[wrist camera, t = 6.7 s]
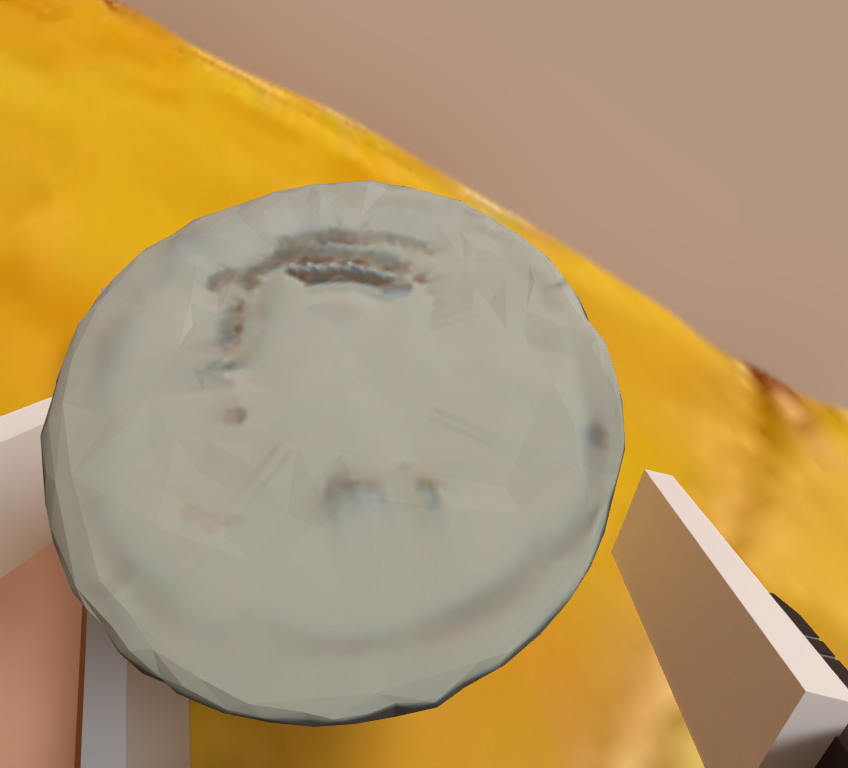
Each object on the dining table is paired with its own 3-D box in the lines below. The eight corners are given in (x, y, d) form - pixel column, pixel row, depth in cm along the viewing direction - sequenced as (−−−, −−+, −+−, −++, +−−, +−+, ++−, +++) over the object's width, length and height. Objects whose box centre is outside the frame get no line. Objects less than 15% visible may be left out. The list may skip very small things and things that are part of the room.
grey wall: (212, 336, 26) (176, 277, 21) (271, 1120, 14) (219, 1349, 10) (113, 353, 25) (53, 294, 21) (88, 1202, 13) (-62, 1495, 9)
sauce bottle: (366, 475, 23) (300, -14, 5) (480, 544, 22) (868, 219, 4) (281, 603, 20) (-440, 472, 3) (406, 690, 19) (639, 1486, 2)
